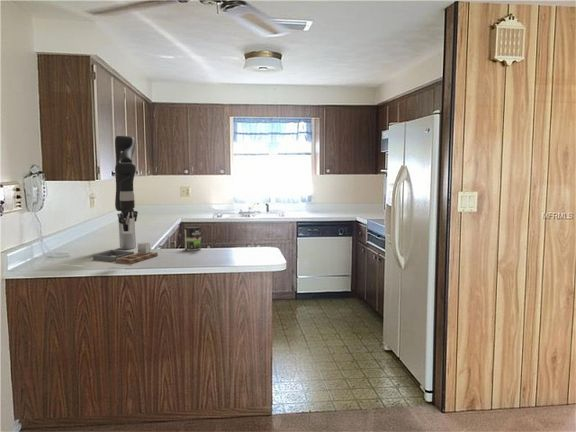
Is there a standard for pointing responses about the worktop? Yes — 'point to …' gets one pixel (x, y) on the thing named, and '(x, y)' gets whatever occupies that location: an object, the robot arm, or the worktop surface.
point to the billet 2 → (144, 248)
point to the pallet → (135, 258)
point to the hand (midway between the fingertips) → (128, 230)
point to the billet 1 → (129, 226)
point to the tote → (108, 255)
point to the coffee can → (192, 237)
